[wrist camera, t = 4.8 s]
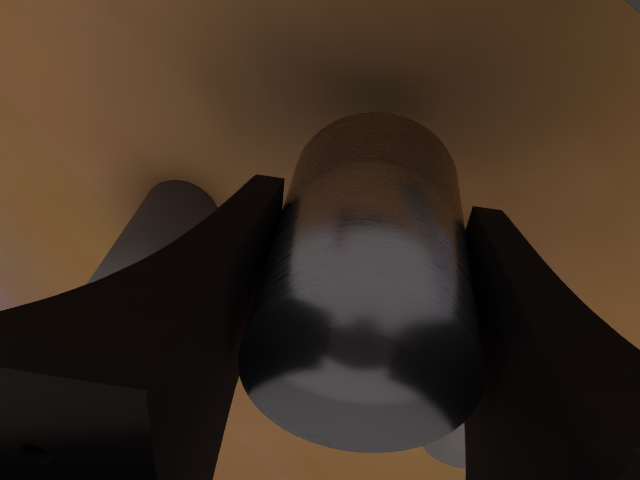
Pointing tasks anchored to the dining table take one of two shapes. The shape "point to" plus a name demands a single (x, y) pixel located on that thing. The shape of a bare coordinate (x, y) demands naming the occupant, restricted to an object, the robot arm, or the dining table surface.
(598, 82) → the dining table surface
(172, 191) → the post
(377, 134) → the shiny metal cylinder
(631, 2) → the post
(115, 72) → the dining table surface
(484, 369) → the robot arm
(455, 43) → the dining table surface
